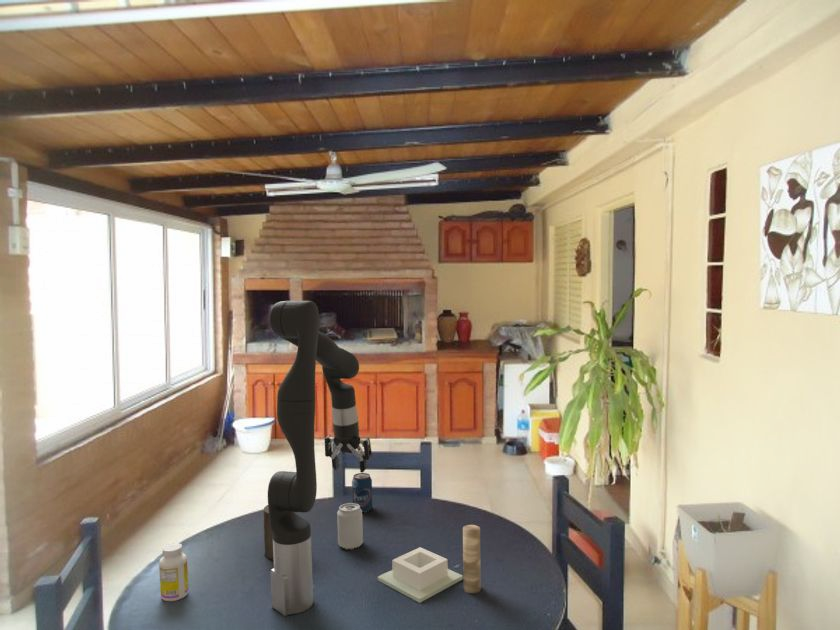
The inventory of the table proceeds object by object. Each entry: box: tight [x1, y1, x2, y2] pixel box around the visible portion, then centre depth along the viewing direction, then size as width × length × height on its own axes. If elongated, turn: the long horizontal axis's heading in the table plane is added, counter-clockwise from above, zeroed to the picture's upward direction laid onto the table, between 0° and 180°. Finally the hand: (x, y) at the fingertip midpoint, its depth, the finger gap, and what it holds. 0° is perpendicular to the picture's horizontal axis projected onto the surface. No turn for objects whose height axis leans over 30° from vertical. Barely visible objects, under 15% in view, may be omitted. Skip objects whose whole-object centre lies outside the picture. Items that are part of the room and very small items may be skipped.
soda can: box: [351, 472, 373, 513], centre depth 209 cm, size 7×7×12 cm
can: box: [336, 502, 364, 550], centre depth 181 cm, size 8×8×12 cm
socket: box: [377, 546, 464, 604], centre depth 160 cm, size 16×16×6 cm
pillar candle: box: [263, 504, 298, 561], centre depth 177 cm, size 10×10×15 cm
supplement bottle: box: [158, 542, 190, 602], centre depth 154 cm, size 7×7×13 cm
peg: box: [462, 524, 482, 594], centre depth 155 cm, size 4×4×16 cm
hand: (349, 470), depth 182 cm, fingers open, 8 cm apart
